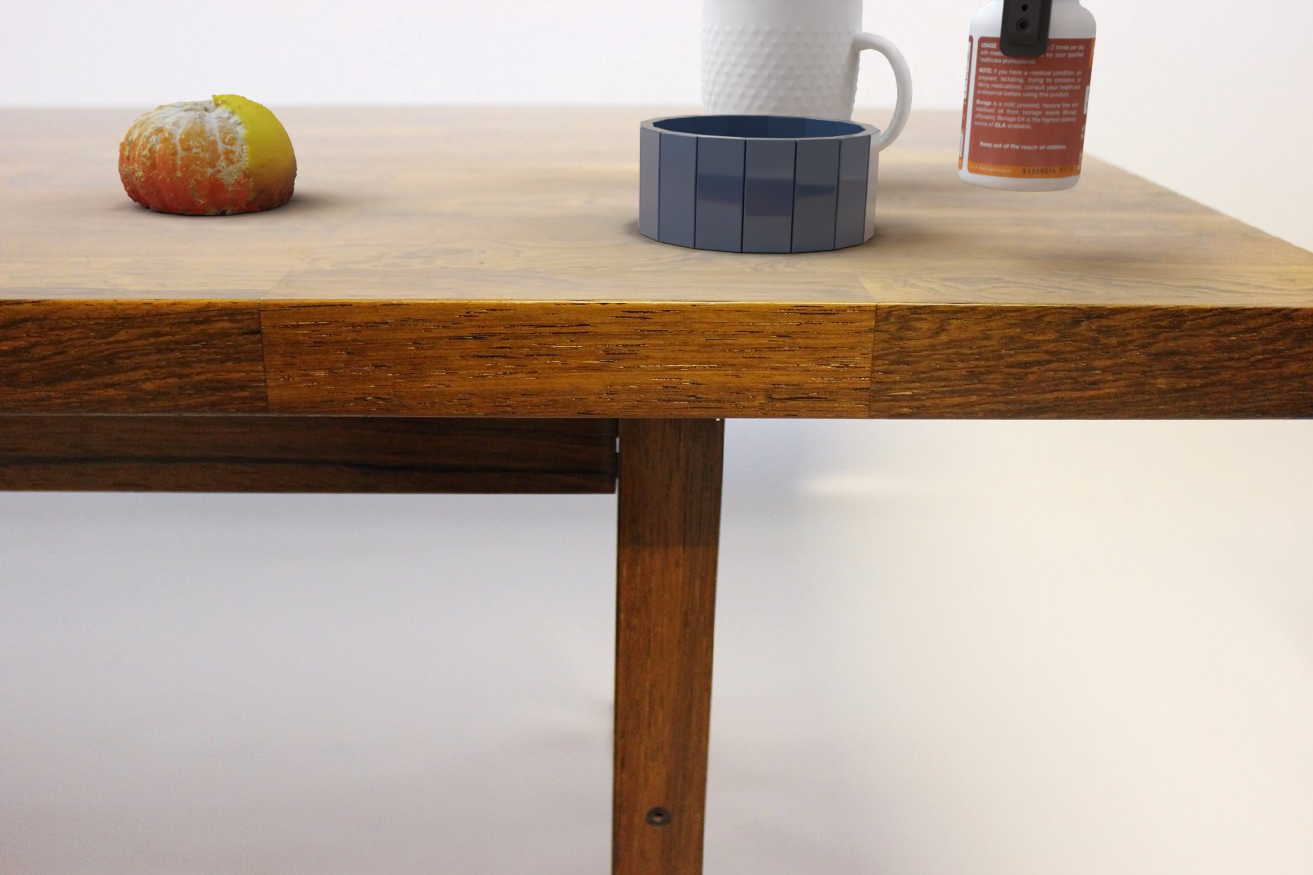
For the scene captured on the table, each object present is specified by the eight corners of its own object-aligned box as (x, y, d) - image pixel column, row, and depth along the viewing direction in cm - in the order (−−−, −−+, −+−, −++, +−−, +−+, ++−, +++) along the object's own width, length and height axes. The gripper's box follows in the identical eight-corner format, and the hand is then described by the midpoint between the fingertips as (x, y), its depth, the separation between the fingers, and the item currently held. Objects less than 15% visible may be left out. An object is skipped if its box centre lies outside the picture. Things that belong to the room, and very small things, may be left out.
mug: (920, 183, 98) (935, -6, 94) (885, 205, 88) (900, -5, 84) (726, 169, 103) (732, -11, 99) (673, 189, 94) (677, -10, 89)
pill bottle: (1102, 193, 68) (1132, -40, 65) (993, 196, 67) (1016, -43, 63) (1038, 175, 74) (1062, -40, 70) (936, 178, 72) (954, -42, 69)
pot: (893, 220, 83) (900, 121, 81) (840, 261, 71) (847, 145, 69) (684, 204, 88) (686, 109, 86) (602, 240, 76) (602, 131, 74)
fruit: (135, 182, 90) (160, 63, 88) (293, 228, 92) (321, 113, 90) (86, 206, 79) (113, 71, 77) (265, 257, 81) (296, 127, 79)
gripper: (1149, -361, 55) (1097, 64, 61) (1159, -297, 68) (1116, 50, 73) (963, -350, 58) (930, 58, 63) (1007, -290, 70) (976, 45, 76)
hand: (1030, 52), depth 68 cm, fingers closed on pill bottle, 6 cm apart
